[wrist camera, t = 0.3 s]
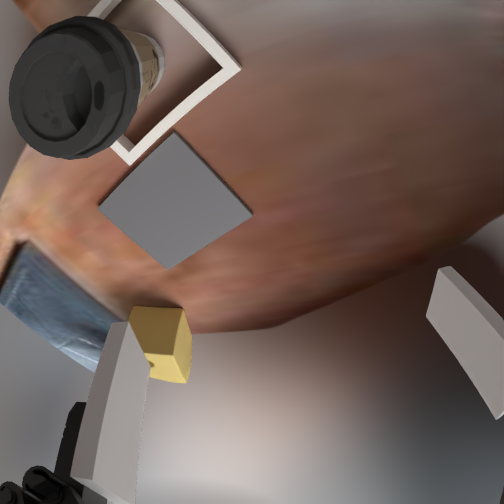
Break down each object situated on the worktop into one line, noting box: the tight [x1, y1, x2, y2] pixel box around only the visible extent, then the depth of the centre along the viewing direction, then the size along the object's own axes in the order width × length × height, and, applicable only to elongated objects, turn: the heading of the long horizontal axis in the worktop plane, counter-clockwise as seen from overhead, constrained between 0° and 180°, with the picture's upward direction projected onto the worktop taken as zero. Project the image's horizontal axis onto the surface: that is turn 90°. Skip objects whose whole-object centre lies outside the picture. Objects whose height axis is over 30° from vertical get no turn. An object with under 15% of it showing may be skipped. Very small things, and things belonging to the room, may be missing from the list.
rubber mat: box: [98, 131, 253, 270], centre depth 38 cm, size 16×14×1 cm
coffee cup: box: [9, 16, 165, 160], centre depth 20 cm, size 11×11×15 cm
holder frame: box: [87, 0, 242, 166], centre depth 25 cm, size 16×16×2 cm
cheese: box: [127, 306, 192, 383], centre depth 51 cm, size 10×11×10 cm
